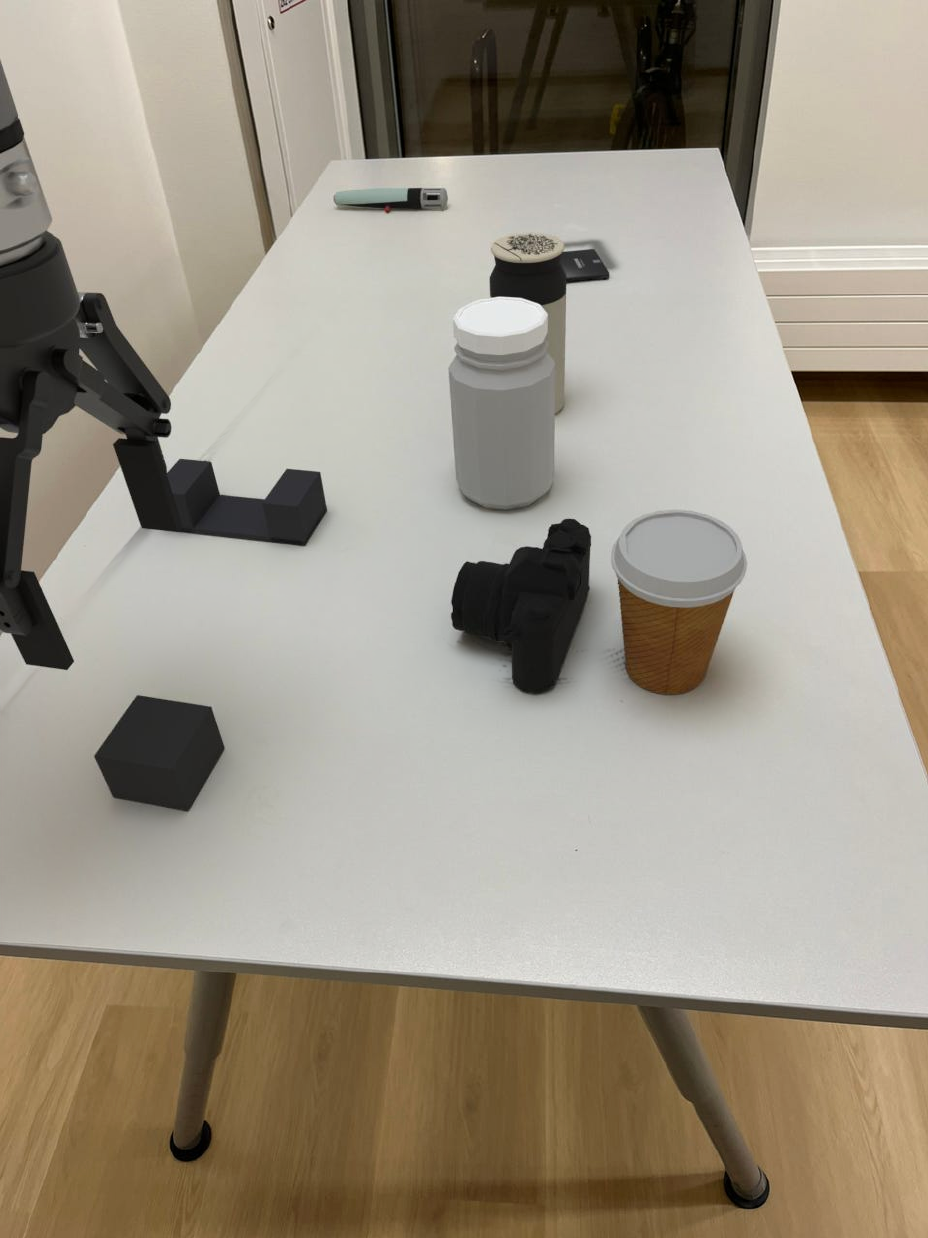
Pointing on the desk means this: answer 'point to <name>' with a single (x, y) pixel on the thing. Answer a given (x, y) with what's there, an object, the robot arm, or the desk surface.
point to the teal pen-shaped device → (393, 198)
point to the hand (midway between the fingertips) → (111, 589)
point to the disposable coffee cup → (674, 595)
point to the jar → (502, 402)
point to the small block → (160, 752)
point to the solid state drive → (583, 265)
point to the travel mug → (535, 287)
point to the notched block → (248, 505)
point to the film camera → (529, 602)
